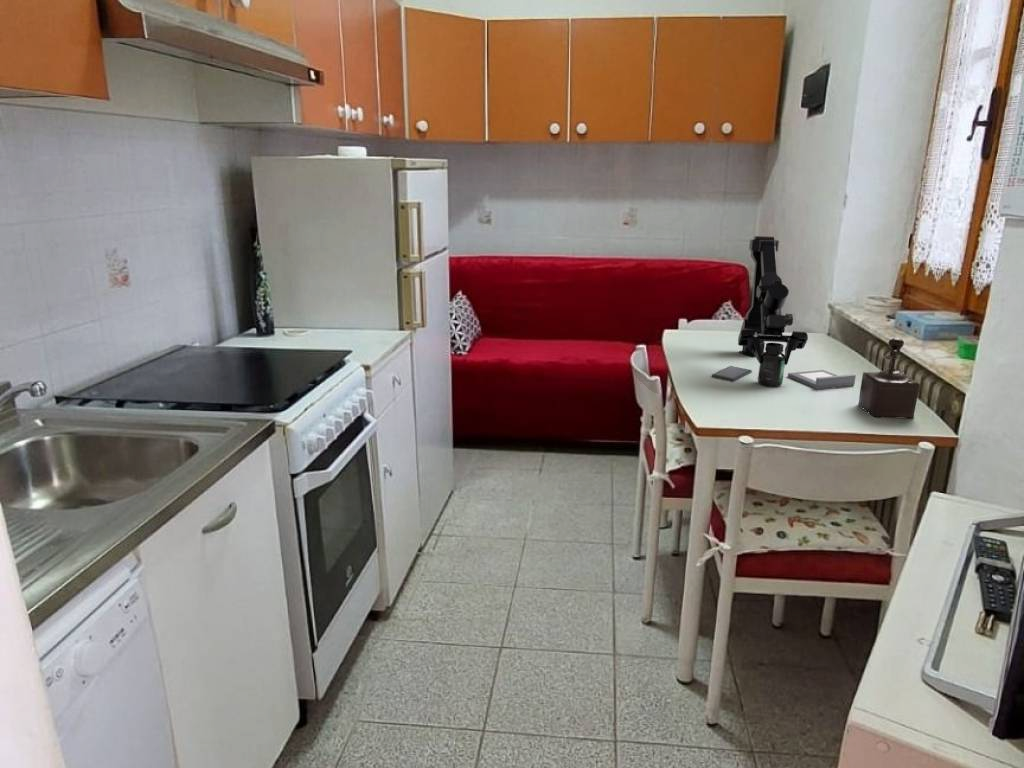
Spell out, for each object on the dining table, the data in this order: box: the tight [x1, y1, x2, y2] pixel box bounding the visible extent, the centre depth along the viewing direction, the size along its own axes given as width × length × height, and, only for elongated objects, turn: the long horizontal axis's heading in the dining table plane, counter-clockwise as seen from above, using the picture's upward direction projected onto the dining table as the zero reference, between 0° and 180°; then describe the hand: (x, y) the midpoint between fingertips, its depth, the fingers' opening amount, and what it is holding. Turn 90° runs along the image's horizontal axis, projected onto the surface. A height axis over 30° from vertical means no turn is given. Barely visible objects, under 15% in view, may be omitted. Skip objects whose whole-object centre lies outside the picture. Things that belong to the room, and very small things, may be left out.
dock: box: [787, 369, 857, 390], centre depth 210 cm, size 13×13×3 cm
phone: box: [711, 365, 753, 382], centre depth 216 cm, size 7×13×1 cm, turn 139°
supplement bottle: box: [757, 342, 786, 388], centre depth 205 cm, size 7×7×12 cm
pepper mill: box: [858, 337, 920, 419], centre depth 185 cm, size 16×11×18 cm
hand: (773, 363), depth 204 cm, fingers closed on supplement bottle, 7 cm apart
